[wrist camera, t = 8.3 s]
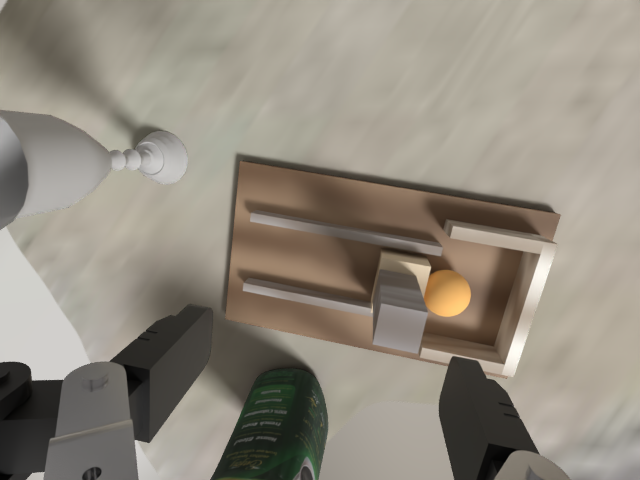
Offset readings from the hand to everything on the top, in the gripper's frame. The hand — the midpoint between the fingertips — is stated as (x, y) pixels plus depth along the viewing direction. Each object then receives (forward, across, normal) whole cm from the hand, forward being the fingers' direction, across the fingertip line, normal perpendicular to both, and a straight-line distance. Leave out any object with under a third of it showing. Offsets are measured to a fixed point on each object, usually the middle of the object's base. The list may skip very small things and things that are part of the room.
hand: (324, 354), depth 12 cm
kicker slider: (+21, -5, +5) cm, 22 cm away
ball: (+20, -9, +5) cm, 22 cm away
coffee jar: (+23, +3, +22) cm, 32 cm away
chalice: (+24, +19, -2) cm, 30 cm away
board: (+23, -3, +5) cm, 24 cm away
